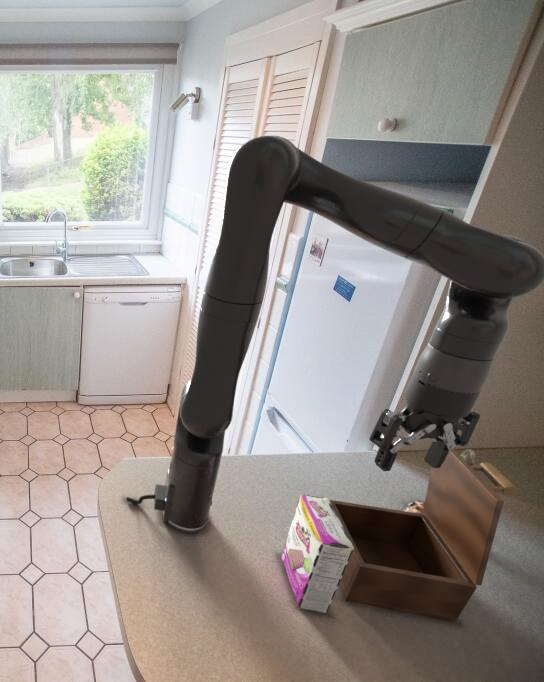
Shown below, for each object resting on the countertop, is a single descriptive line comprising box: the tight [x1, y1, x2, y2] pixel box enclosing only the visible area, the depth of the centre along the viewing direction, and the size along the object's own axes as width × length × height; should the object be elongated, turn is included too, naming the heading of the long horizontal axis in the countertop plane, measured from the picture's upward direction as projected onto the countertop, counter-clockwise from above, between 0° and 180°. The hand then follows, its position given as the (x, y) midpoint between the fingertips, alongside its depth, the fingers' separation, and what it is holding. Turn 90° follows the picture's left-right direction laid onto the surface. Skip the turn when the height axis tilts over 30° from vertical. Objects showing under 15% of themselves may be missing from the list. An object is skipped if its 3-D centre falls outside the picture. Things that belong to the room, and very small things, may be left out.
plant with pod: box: [403, 448, 477, 526], centre depth 94 cm, size 8×11×20 cm
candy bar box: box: [280, 494, 354, 614], centre depth 80 cm, size 11×5×16 cm, turn 168°
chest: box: [329, 499, 478, 623], centre depth 84 cm, size 17×16×9 cm
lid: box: [423, 448, 518, 586], centre depth 76 cm, size 18×16×6 cm
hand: (406, 466), depth 72 cm, fingers open, 8 cm apart
